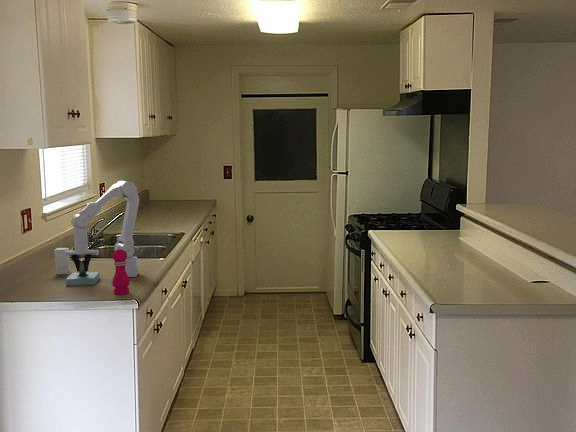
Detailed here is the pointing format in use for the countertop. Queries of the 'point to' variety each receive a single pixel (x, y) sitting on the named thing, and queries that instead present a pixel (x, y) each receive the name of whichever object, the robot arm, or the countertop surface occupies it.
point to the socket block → (82, 279)
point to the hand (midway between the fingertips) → (82, 271)
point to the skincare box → (62, 261)
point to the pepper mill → (120, 272)
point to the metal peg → (82, 268)
